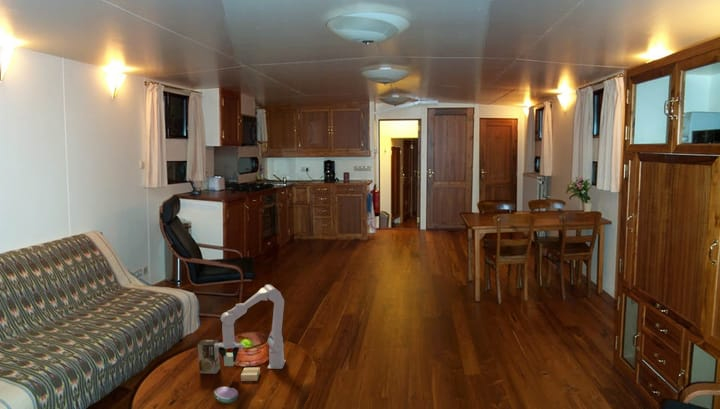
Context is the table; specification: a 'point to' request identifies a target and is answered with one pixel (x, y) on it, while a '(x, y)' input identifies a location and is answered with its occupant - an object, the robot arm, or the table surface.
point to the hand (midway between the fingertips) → (229, 361)
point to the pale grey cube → (228, 359)
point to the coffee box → (208, 356)
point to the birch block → (250, 374)
